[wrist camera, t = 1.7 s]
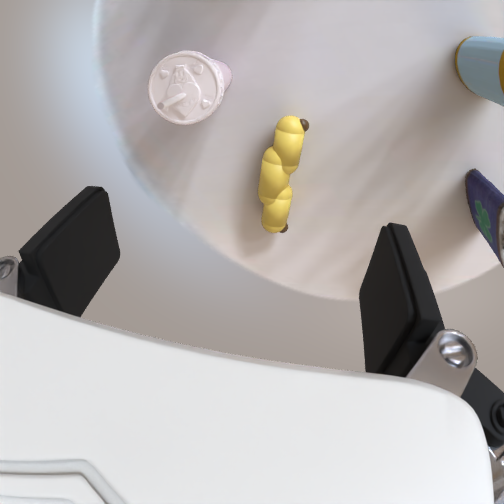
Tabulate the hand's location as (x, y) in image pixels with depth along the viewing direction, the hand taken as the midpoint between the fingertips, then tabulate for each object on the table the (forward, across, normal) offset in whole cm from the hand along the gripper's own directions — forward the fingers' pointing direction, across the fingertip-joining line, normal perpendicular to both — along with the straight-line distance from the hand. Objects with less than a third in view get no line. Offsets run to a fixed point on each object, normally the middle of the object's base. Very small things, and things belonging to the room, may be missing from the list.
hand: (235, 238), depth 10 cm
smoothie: (+26, +8, -2) cm, 27 cm away
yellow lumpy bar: (+26, 0, +8) cm, 27 cm away
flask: (+26, -26, +7) cm, 37 cm away
